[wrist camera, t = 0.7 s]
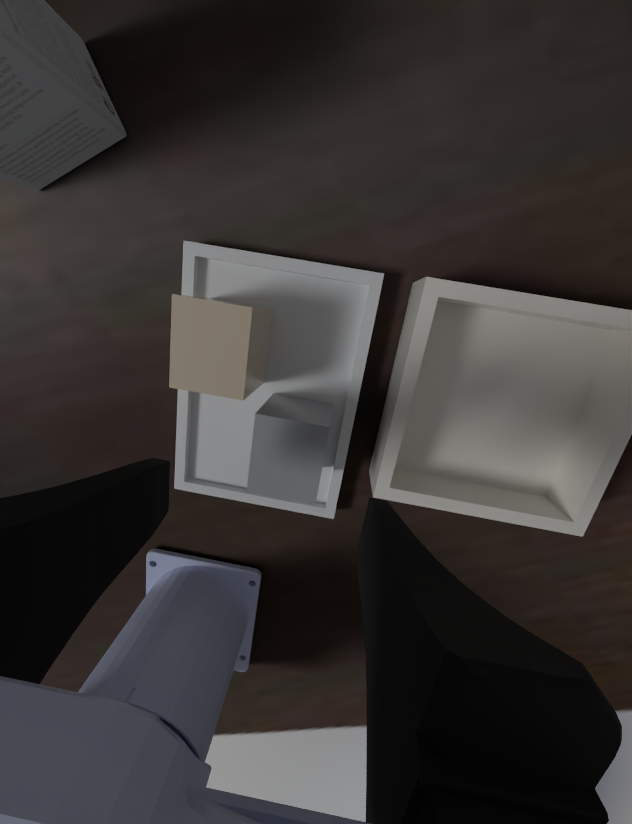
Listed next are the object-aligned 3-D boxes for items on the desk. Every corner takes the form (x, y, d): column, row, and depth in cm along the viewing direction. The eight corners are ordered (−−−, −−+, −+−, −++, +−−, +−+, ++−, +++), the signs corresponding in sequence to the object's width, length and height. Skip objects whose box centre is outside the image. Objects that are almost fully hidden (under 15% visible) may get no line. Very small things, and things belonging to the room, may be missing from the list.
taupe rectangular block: (264, 382, 19) (243, 400, 15) (205, 372, 19) (169, 387, 15) (272, 309, 17) (252, 307, 14) (209, 298, 17) (172, 293, 14)
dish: (548, 504, 20) (583, 536, 17) (369, 470, 20) (373, 497, 17) (627, 318, 17) (686, 319, 14) (412, 282, 17) (426, 276, 14)
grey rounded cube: (321, 467, 20) (315, 504, 16) (265, 456, 20) (246, 491, 16) (332, 403, 19) (329, 427, 15) (273, 393, 19) (255, 413, 15)
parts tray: (334, 509, 21) (333, 518, 20) (181, 480, 21) (174, 488, 20) (382, 275, 17) (384, 273, 16) (192, 244, 17) (183, 240, 16)
